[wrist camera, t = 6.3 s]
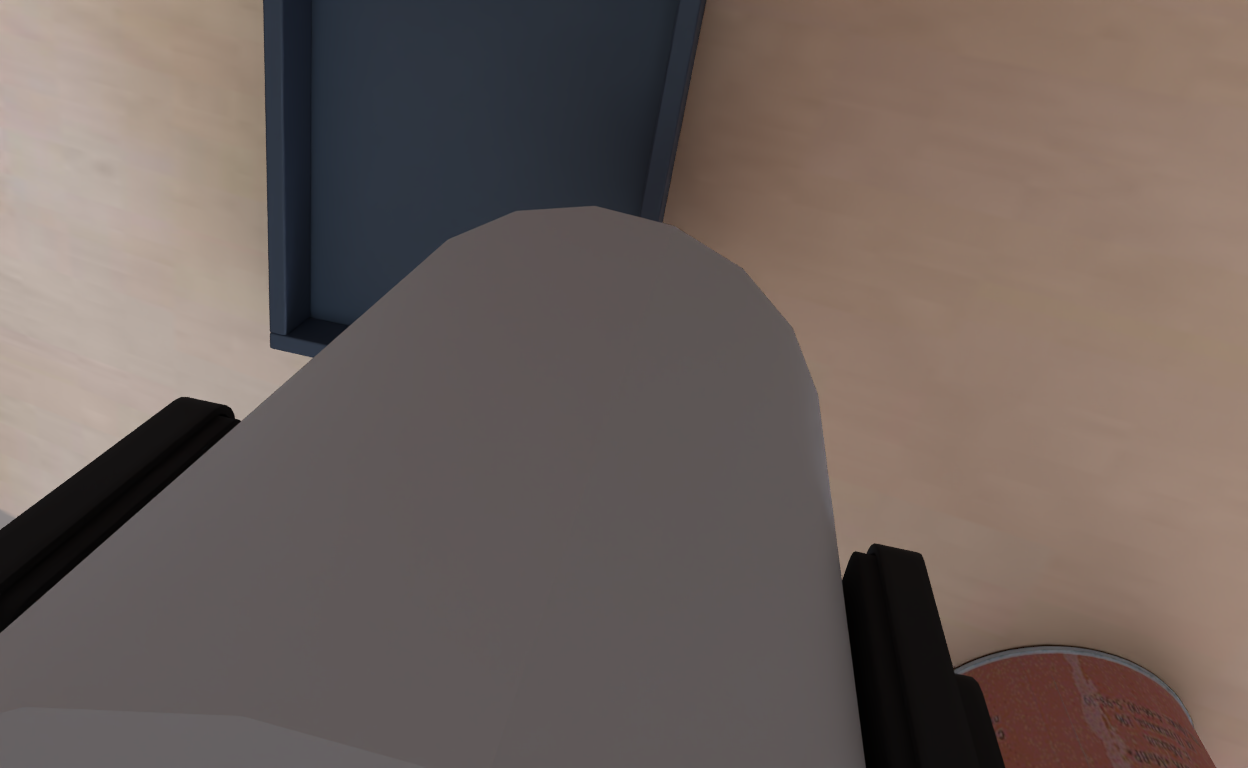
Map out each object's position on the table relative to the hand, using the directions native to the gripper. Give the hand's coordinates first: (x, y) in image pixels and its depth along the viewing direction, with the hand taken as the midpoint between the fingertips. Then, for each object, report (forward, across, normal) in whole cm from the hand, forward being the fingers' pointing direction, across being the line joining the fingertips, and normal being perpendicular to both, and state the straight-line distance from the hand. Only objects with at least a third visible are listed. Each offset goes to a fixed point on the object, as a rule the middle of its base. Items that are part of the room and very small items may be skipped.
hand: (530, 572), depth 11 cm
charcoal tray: (+19, +6, 0) cm, 20 cm away
